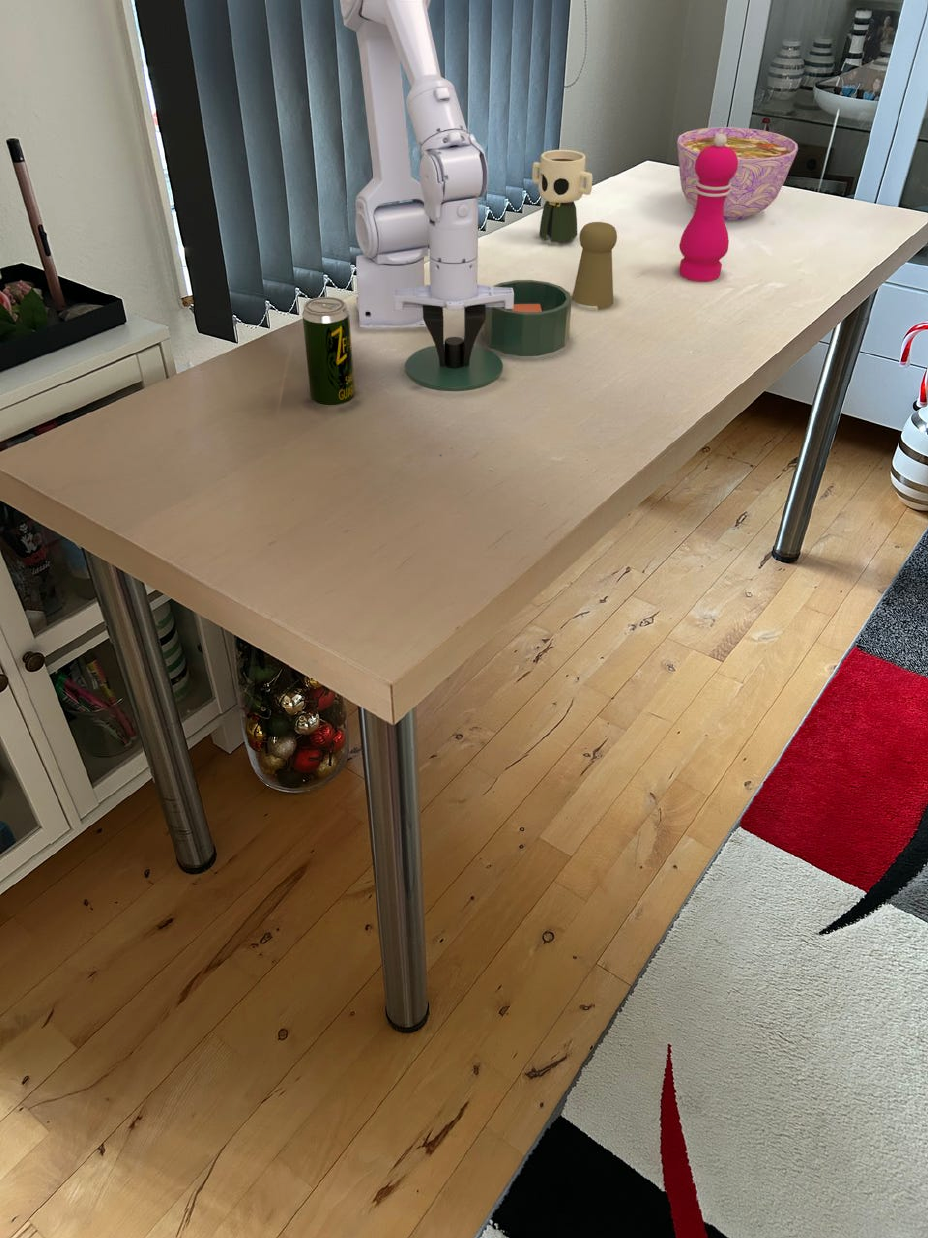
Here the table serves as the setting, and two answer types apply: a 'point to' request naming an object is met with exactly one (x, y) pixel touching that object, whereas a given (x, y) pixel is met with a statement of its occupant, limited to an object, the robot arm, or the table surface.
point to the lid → (454, 367)
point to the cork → (595, 266)
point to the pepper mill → (708, 213)
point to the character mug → (561, 192)
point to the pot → (530, 320)
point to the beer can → (328, 351)
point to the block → (527, 308)
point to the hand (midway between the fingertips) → (453, 362)
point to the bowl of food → (740, 167)
